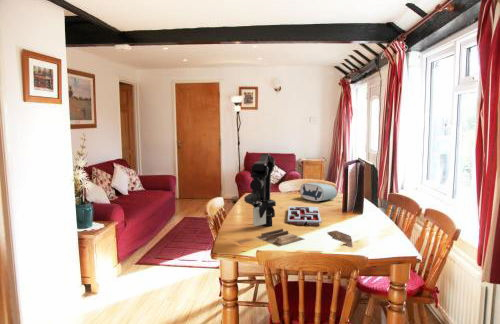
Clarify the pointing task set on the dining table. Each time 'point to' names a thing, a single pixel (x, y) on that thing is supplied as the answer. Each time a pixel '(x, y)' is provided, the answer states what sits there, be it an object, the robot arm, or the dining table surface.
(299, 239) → the lower oak offcut
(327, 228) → the dining table surface
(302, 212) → the maze game
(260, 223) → the taupe rectangular block
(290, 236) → the upper oak offcut
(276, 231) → the walnut rack
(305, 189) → the grey rounded oval block
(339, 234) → the wooden fragment
